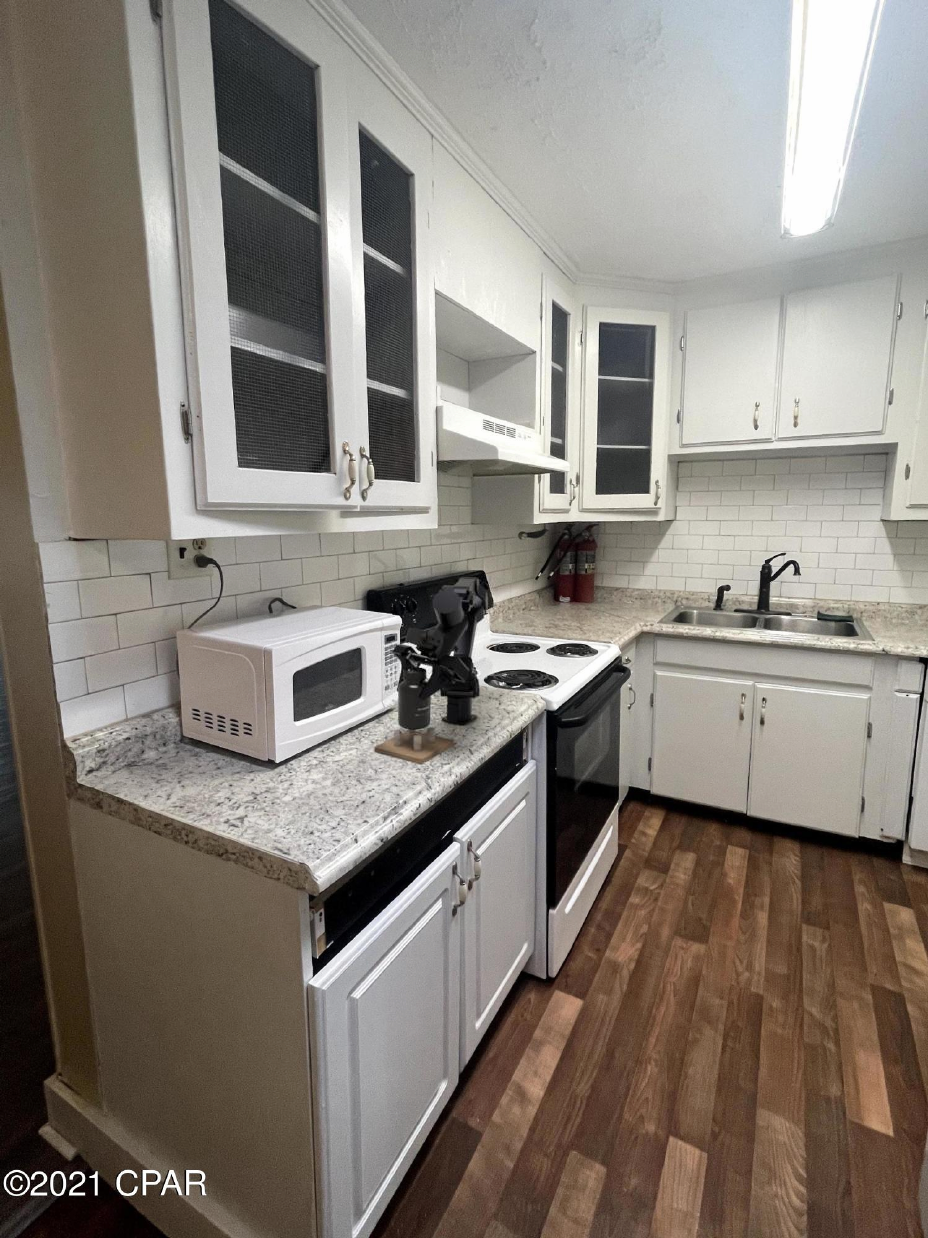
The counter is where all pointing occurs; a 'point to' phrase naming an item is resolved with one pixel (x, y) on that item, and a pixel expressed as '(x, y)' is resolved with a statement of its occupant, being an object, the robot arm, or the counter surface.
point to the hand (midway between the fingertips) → (409, 695)
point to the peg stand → (414, 745)
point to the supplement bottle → (413, 700)
